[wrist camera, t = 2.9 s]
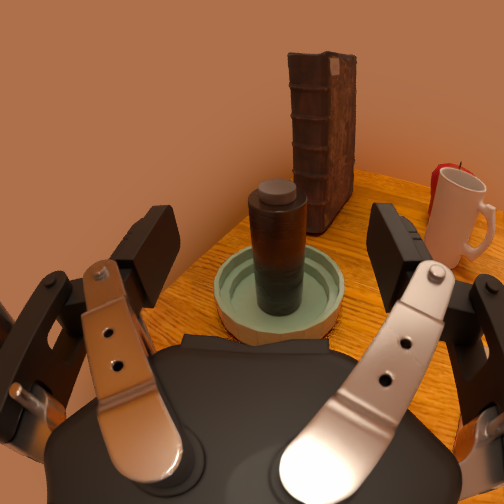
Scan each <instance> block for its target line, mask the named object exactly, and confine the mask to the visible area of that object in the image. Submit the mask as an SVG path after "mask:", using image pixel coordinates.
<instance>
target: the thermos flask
mask: <svg viewBox="0 0 504 504" xmlns="http://www.w3.org/2000/svg"><path fill="white" fill-rule="evenodd" d="M248 207H249V219H250V230H251V241H252V253H253V264H254V275H255V287H256V298H257V304H258V306H259V308H260V309H261V310H262V311H263V312H265V313H266V314H269V315H272V316H287V315H290V314H292V313H294V312H295V311H296V310H297V309H298V308H299V307H300V305H301V303H302V294H303V280H304V264H305V246H306V225H307V195H306V194H305V193H304V192H303V191H302V190H300V189H298V188H296V184H295V183H294V182H292V181H290V180H286V179H269V180H266V181H263V182H262V183H260V184H259V186H258V189H256V190H254V191H253V192H252V193H251V194H250V195H249V197H248Z"/></svg>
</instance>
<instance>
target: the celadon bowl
mask: <svg viewBox="0 0 504 504" xmlns="http://www.w3.org/2000/svg"><path fill="white" fill-rule="evenodd" d="M344 292H345V290H344V277H343V275H342V273H341V271H340V269H339V267H338V265H337V264H336V263H335V262H334V261H333V260H332V259H331V258H330V257H329V256H328V255H327V254H325V253H324V252H322V251H320V250H318V249H316V248H314V247H312V246H309V245H306V246H305V264H304V280H303V294H302V303H301V305H300V307H299V308H298V309H297V310H296V311H295V312H294V313H292V314H290V315H287V316H272V315H269V314H266V313H265V312H263V311H262V310H261V309H260V308H259V306H258V304H257V298H256V287H255V275H254V264H253V253H252V246H249V247H246V248H243V249H242V250H240V251H238V252H237V253H235V254H233V255H232V256H230V257H229V258H228V259H227V260H226V261H225V262H224V263H223V265H222V266H221V267H220V268H219V270H218V272H217V275H216V277H215V279H214V297H215V301H216V305H217V310H218V314H219V316H220V318H221V320H222V322H223V324H224V326H225V328H226V329H227V330H228V331H229V332H230V333H231V334H232V335H233V336H235V337H236V338H237V339H238V340H240V341H241V342H244V343H246V344H248V345H250V346H259V345H264V344H270V343H275V342H280V341H285V340H290V339H321V338H322V337H323V336H324V335H325V334H326V333H327V332H328V331H329V330H330V329H331V328H332V327H333V326H334V325H335V323H336V320H337V318H338V316H339V313H340V310H341V306H342V302H343V297H344Z"/></svg>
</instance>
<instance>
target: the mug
mask: <svg viewBox="0 0 504 504" xmlns="http://www.w3.org/2000/svg"><path fill="white" fill-rule="evenodd" d="M486 190H487V188H486V186H485V184H484V183H483V182H482V181H481V180H479V179H478V178H476V177H475V176H473V175H471V174H469V173H467V172H465V171H462V170H459V169H455V168H449V167H445V168H441V169H440V174H439V178H438V183H437V188H436V193H435V197H434V202H433V206H432V210H431V215H430V219H429V222H428V226H427V230H426V233H425V237H424V241H423V242H424V244H425V245H426V247H427V249H428V251H429V253H430V254H431V256H432V258H433V260H434V261H437V262H440V263H442V264H444V265H445V266H447V267H448V268H449V269H453V268H455V267H456V266H457V265H458V263H459V261H460V259H461V256H462V255H463V256H465V257H467V258H468V259H469V260H470V261H474V260H475V259H476V258H478V257H479V256H480V255H481V254H482V253H483V252H484V251H485V250H486V249H487V248H488V247H489V245H490V244H491V242H492V240H493V237H494V233H495V211H496V208H495V207H493V206H491V205H490V204H488V205H485V204H484V203H483V199H484V196H485V192H486ZM479 213H482V214H483V215H484V216H485V218H486V220H487V225H488V229H487V234H486V237H485V239H484V241H483V242H482V243H481V245H480V246H479V247H477V248H472V247H471V246H470V245H469V244H468V240H469V238H470V235H471V233H472V230H473V228H474V225H475V222H476V220H477V217H478V214H479Z"/></svg>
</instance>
